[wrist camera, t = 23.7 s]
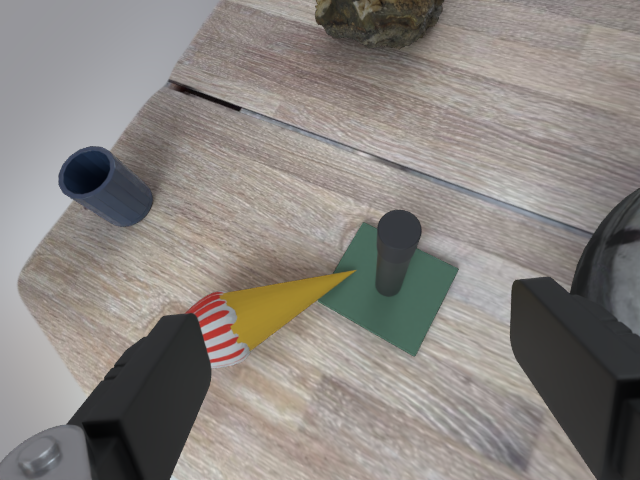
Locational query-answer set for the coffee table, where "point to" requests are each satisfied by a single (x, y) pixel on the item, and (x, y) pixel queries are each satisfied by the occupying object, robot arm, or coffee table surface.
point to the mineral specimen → (378, 20)
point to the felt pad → (396, 311)
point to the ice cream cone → (254, 315)
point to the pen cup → (105, 186)
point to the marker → (395, 249)
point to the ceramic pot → (614, 264)
